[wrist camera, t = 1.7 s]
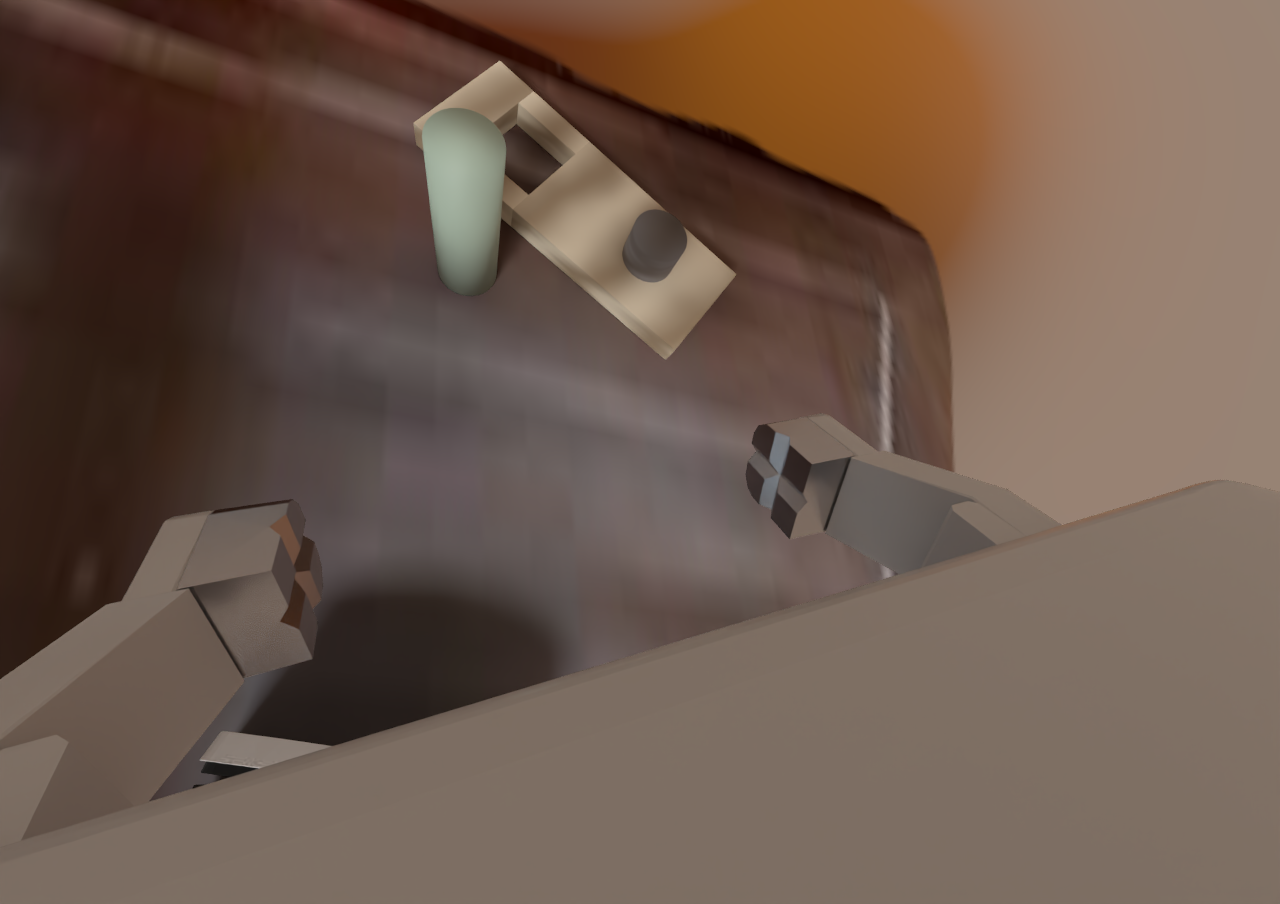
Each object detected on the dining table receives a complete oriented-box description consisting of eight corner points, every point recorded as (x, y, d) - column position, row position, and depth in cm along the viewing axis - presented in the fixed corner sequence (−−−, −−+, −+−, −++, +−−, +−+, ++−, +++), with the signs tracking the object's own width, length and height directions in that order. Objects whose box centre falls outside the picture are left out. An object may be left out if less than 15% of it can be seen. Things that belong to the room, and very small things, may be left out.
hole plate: (416, 144, 38) (408, 85, 33) (498, 83, 41) (501, 21, 37) (665, 360, 41) (690, 333, 36) (725, 287, 44) (755, 253, 39)
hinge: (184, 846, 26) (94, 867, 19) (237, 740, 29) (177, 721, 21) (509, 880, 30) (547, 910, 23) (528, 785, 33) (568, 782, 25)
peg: (424, 268, 36) (403, 135, 25) (464, 234, 38) (461, 94, 27) (470, 306, 37) (469, 192, 26) (508, 271, 38) (522, 148, 27)
